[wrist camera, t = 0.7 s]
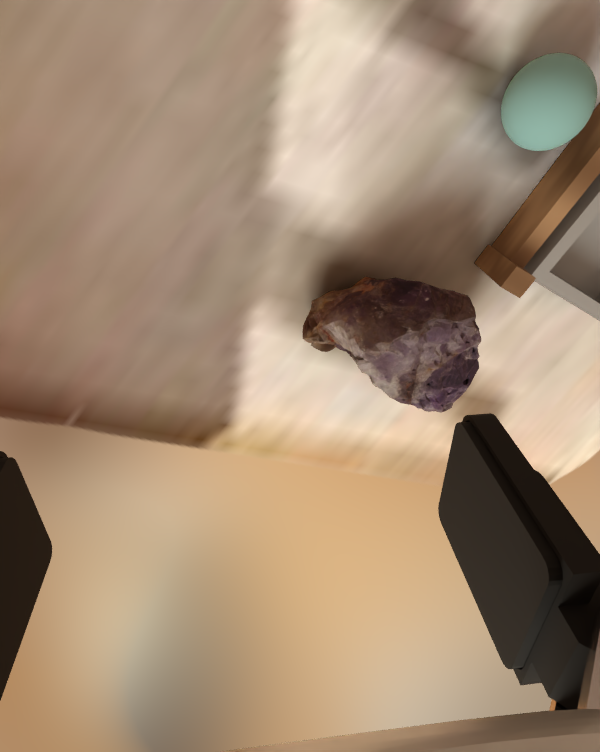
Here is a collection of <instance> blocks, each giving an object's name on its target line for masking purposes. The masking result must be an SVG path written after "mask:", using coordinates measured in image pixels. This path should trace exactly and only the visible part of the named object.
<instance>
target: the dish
mask: <svg viewBox="0 0 600 752" xmlns="http://www.w3.org/2000/svg"><path fill="white" fill-rule="evenodd" d="M524 269H525V270H526V271H528V272H529V273H530V274H531V275H533V276H534V277H535V278H536V279H535V280H534V281H535V282H537V283H538V284H540V285H542V286H543V287H545V288H547V289H548V290H550V291H552V292H553V293H555V294H556V295H558V296H560V297H561V298H563V299H565V300H566V301H568V302H570V303H571V304H573V305H574V306H576V307H578V308H579V309H581V310H583V311H584V312H586V313H588V314H589V315H591V316H592V317H594V318H596V319H597V320H599V321H600V174H599V175H598V176H597V177H596V178H595V180H594V181H593V182H592V183H591V185H590V186H589V187H588V188H587V190H586V191H585V192H584V193H583V195H582V196H581V197H580V198H579V200H578V201H577V202H576V203H575V205H574V206H573V207H572V208H571V210H570V211H569V212H568V213H567V214H566V216H565V217H564V218H563V219H562V221H561V222H560V223H559V224H558V226H557V227H556V228H555V229H554V231H553V232H552V233H551V234H550V236H549V237H548V238H547V239H546V241H545V242H544V243H543V244H542V246H541V247H540V248H539V249H538V250H537V252H536V253H535V254H534V255H533V257H532V258H531V259H530V260H529V262H528V263H527V264H526V265H525V267H524Z"/></svg>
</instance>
